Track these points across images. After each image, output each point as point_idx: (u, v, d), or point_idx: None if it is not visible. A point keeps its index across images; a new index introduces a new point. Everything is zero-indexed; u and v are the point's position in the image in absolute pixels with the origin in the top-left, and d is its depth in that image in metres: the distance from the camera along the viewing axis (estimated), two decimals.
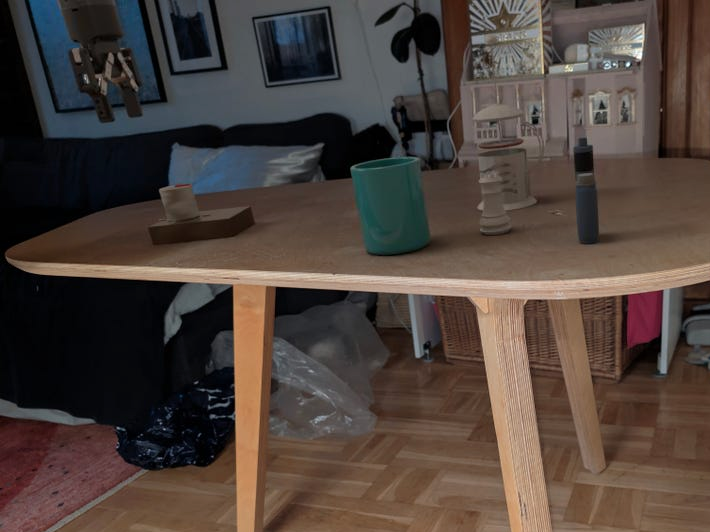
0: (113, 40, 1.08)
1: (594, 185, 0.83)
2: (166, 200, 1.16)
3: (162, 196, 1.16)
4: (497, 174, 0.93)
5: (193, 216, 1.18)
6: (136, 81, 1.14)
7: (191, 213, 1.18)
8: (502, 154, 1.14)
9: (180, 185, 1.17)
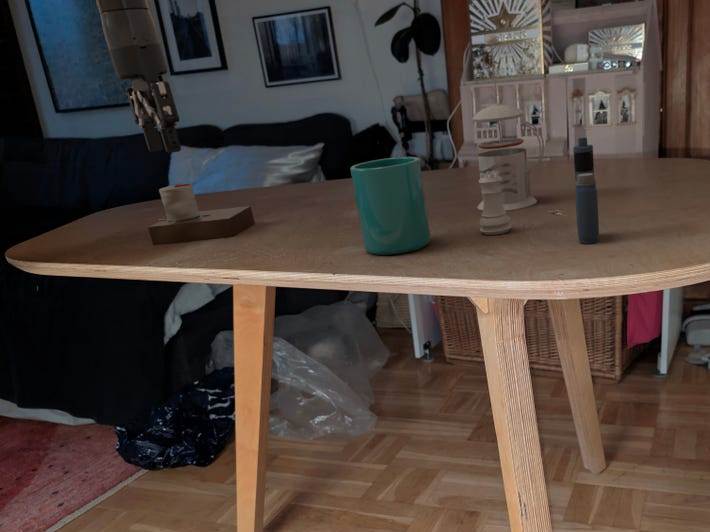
0: None
1: (594, 185, 0.83)
2: (166, 200, 1.16)
3: (162, 196, 1.16)
4: (497, 174, 0.93)
5: (193, 216, 1.18)
6: (149, 117, 1.18)
7: (191, 213, 1.18)
8: (502, 154, 1.14)
9: (180, 185, 1.17)
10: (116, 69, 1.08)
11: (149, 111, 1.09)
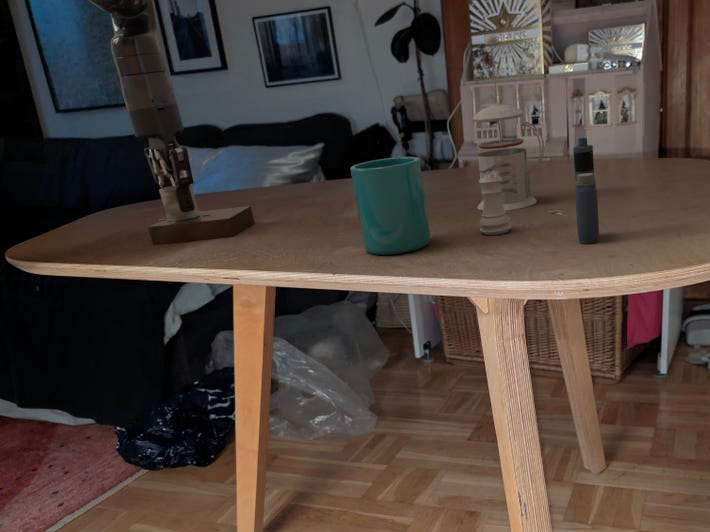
0: None
1: (594, 185, 0.83)
2: (166, 200, 1.16)
3: (162, 196, 1.16)
4: (497, 174, 0.93)
5: (193, 216, 1.18)
6: None
7: (191, 213, 1.18)
8: (502, 154, 1.14)
9: None
10: (134, 129, 1.11)
11: (165, 172, 1.14)
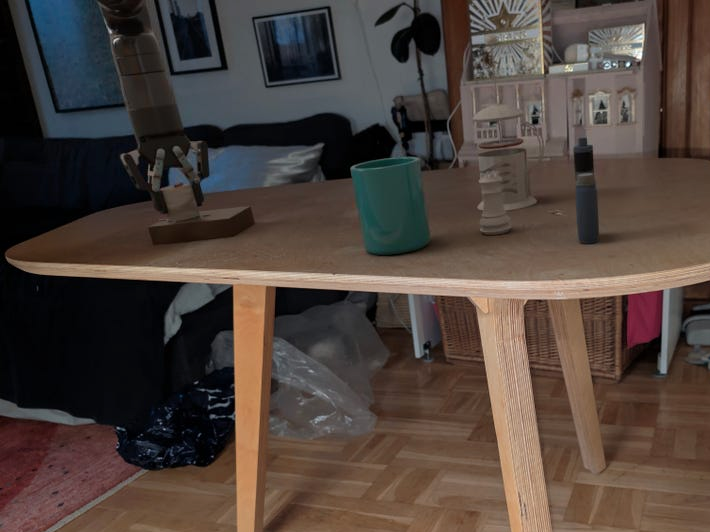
0: None
1: (594, 185, 0.83)
2: (190, 196, 1.17)
3: (184, 193, 1.16)
4: (497, 174, 0.93)
5: None
6: None
7: None
8: (502, 154, 1.14)
9: (178, 184, 1.18)
10: (166, 125, 1.11)
11: (189, 166, 1.17)
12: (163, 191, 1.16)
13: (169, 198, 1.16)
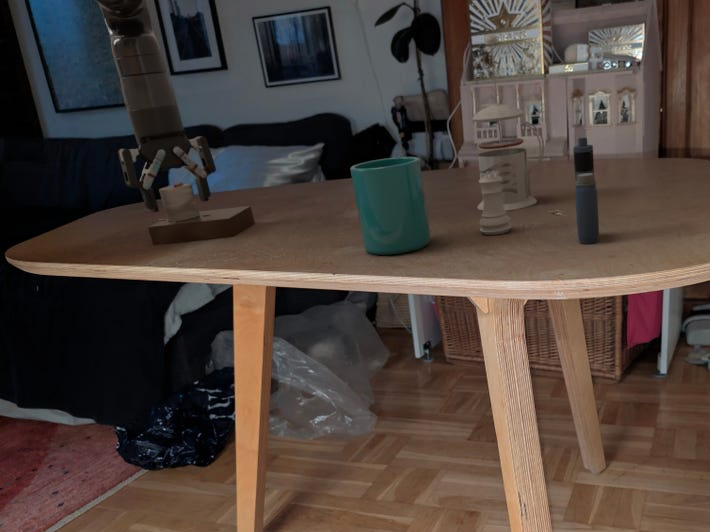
0: None
1: (594, 185, 0.83)
2: (190, 196, 1.17)
3: (184, 193, 1.16)
4: (497, 174, 0.93)
5: None
6: None
7: None
8: (502, 154, 1.14)
9: (178, 184, 1.18)
10: (166, 126, 1.11)
11: (193, 164, 1.17)
12: (163, 191, 1.15)
13: (169, 198, 1.16)
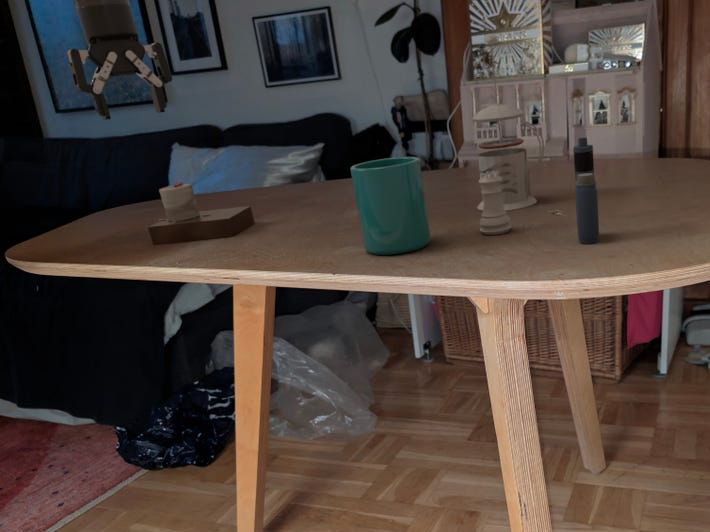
0: None
1: (594, 185, 0.83)
2: (190, 196, 1.17)
3: (184, 193, 1.16)
4: (497, 174, 0.93)
5: None
6: None
7: None
8: (502, 154, 1.14)
9: (178, 184, 1.18)
10: (117, 25, 1.06)
11: (147, 70, 1.12)
12: (163, 191, 1.15)
13: (169, 198, 1.16)
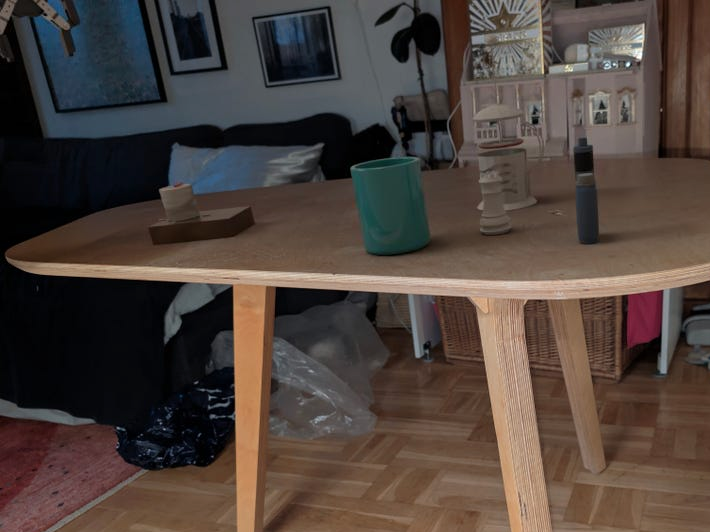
0: None
1: (594, 185, 0.83)
2: (190, 196, 1.17)
3: (184, 193, 1.16)
4: (497, 174, 0.93)
5: None
6: None
7: None
8: (502, 154, 1.14)
9: (178, 184, 1.18)
10: None
11: (52, 12, 1.11)
12: (163, 191, 1.15)
13: (169, 198, 1.16)
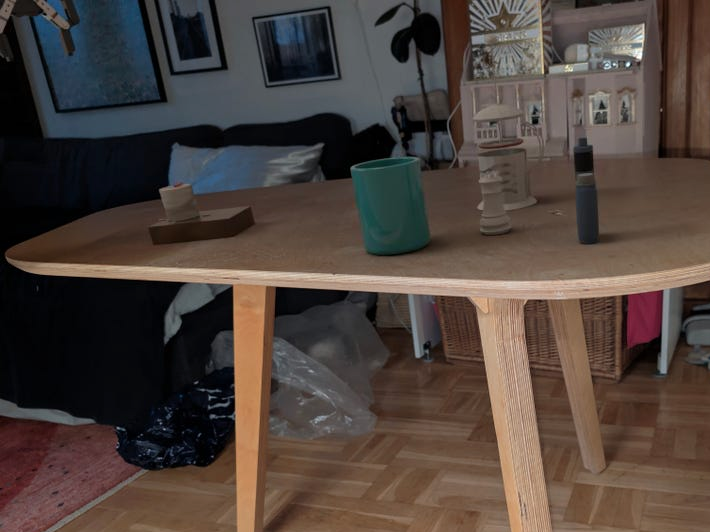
0: None
1: (594, 185, 0.83)
2: (190, 196, 1.17)
3: (184, 193, 1.16)
4: (497, 174, 0.93)
5: None
6: None
7: None
8: (502, 154, 1.14)
9: (178, 184, 1.18)
10: None
11: (52, 11, 1.10)
12: (163, 191, 1.15)
13: (169, 198, 1.16)
